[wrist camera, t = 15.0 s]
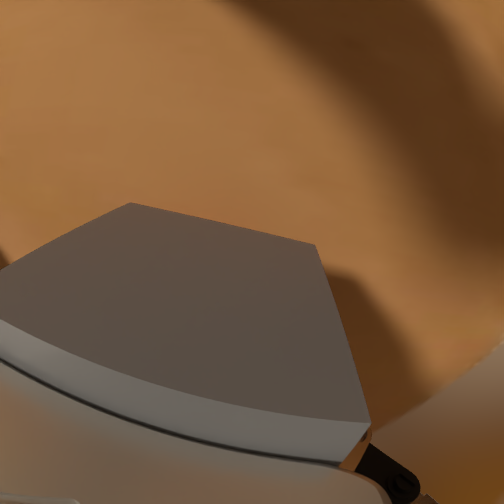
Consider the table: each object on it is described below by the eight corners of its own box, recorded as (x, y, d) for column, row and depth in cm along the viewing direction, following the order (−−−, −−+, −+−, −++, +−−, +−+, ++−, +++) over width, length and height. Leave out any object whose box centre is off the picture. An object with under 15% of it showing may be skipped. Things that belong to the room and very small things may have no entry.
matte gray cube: (130, 202, 12) (-40, 295, 4) (314, 244, 12) (371, 423, 4) (122, 348, 15) (39, 480, 7) (267, 387, 15) (256, 549, 7)
